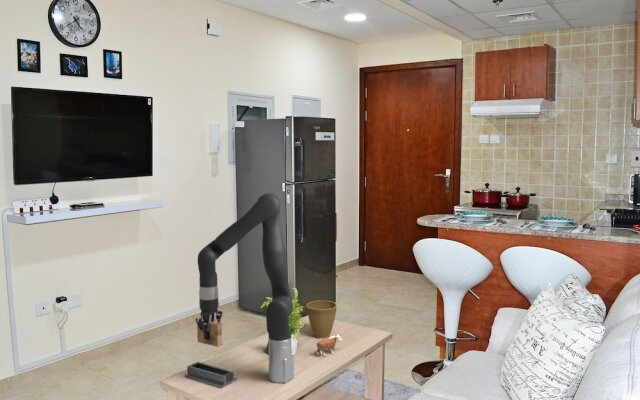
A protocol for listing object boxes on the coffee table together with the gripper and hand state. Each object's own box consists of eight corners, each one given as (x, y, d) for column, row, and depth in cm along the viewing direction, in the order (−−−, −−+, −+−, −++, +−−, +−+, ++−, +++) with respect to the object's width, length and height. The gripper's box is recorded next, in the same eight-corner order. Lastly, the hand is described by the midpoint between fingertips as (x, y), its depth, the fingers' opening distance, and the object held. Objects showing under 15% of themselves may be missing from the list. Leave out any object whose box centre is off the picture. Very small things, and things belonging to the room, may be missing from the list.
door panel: (222, 345, 222) (221, 323, 221) (217, 347, 220) (217, 324, 219) (202, 340, 228) (201, 318, 227) (197, 341, 226) (197, 320, 225)
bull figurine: (343, 352, 253) (343, 334, 252) (319, 358, 246) (319, 340, 245) (337, 349, 257) (337, 332, 256) (313, 355, 249) (313, 338, 248)
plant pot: (304, 332, 280) (304, 301, 279) (333, 330, 283) (333, 299, 281) (309, 342, 266) (309, 309, 264) (339, 340, 268) (339, 308, 267)
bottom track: (236, 380, 224) (236, 370, 223) (221, 388, 216) (221, 378, 216) (200, 369, 234) (200, 360, 234) (184, 377, 227) (184, 367, 226)
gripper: (203, 302, 214) (204, 345, 216) (227, 293, 226) (228, 335, 227) (189, 299, 218) (190, 342, 220) (213, 291, 230) (214, 332, 231)
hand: (209, 338), depth 223 cm, fingers closed on door panel, 2 cm apart
